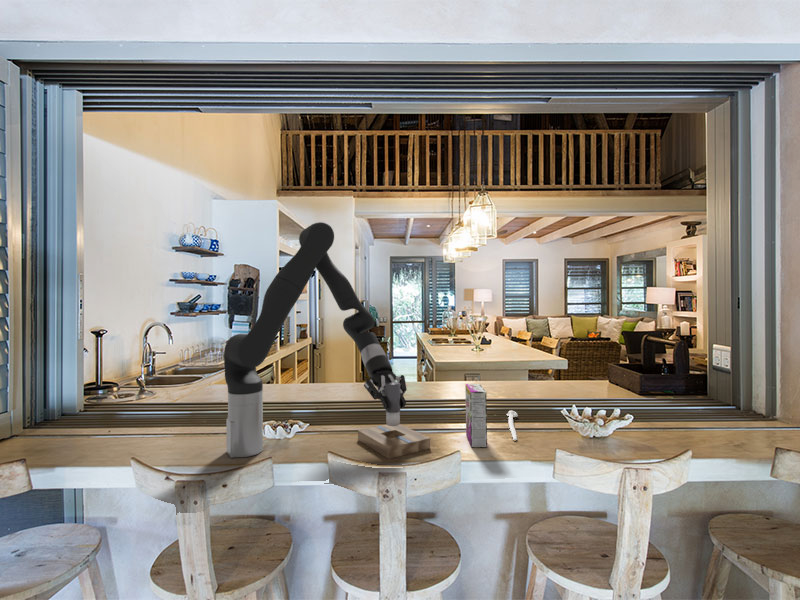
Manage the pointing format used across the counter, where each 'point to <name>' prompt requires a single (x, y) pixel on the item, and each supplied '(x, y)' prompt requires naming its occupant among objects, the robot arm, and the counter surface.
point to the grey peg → (393, 403)
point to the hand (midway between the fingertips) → (396, 407)
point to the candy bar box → (476, 415)
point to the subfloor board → (393, 440)
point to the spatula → (510, 422)
